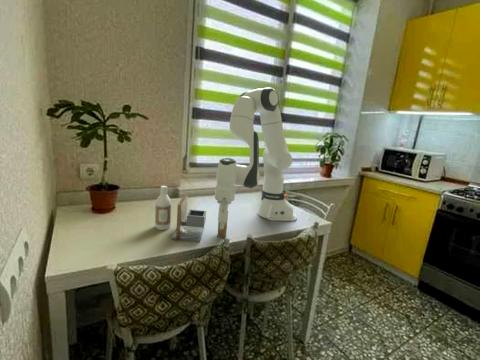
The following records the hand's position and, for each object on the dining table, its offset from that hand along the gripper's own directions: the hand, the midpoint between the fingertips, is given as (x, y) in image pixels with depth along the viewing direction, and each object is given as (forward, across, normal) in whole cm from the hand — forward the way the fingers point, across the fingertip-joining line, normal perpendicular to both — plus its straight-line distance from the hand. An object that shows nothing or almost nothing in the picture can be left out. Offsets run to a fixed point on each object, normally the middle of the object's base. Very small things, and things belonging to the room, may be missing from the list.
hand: (222, 224), depth 127 cm
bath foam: (+6, +4, +28) cm, 29 cm away
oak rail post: (+6, 0, 0) cm, 6 cm away
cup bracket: (+6, 0, +14) cm, 15 cm away
